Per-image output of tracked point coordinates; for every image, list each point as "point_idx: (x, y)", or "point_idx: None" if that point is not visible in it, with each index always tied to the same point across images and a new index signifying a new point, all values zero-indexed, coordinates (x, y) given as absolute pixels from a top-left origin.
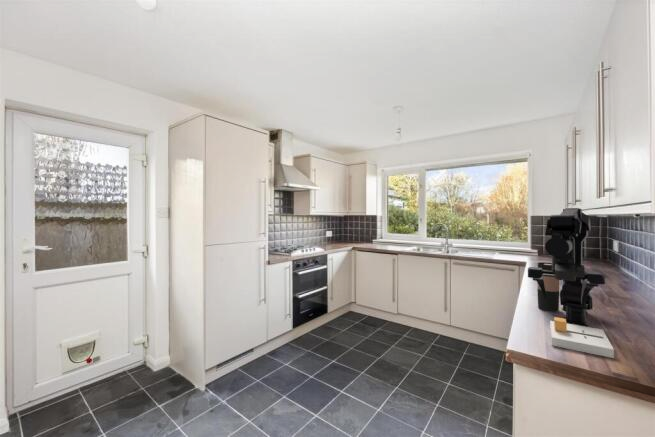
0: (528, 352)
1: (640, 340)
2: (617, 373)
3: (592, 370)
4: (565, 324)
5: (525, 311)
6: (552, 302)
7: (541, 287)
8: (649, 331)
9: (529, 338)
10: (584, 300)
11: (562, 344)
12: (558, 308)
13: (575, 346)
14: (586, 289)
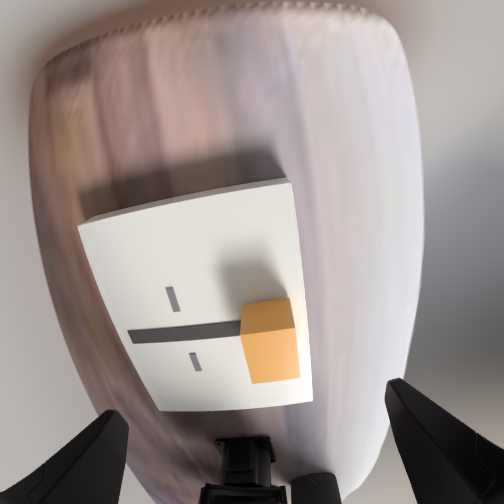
0: (344, 26)
1: (106, 409)
2: (79, 79)
3: (136, 33)
4: (244, 326)
5: (370, 445)
6: (306, 496)
7: (490, 455)
8: None
9: (373, 197)
10: (85, 430)
11: (245, 185)
12: (291, 488)
13: (196, 195)
14: (25, 501)
